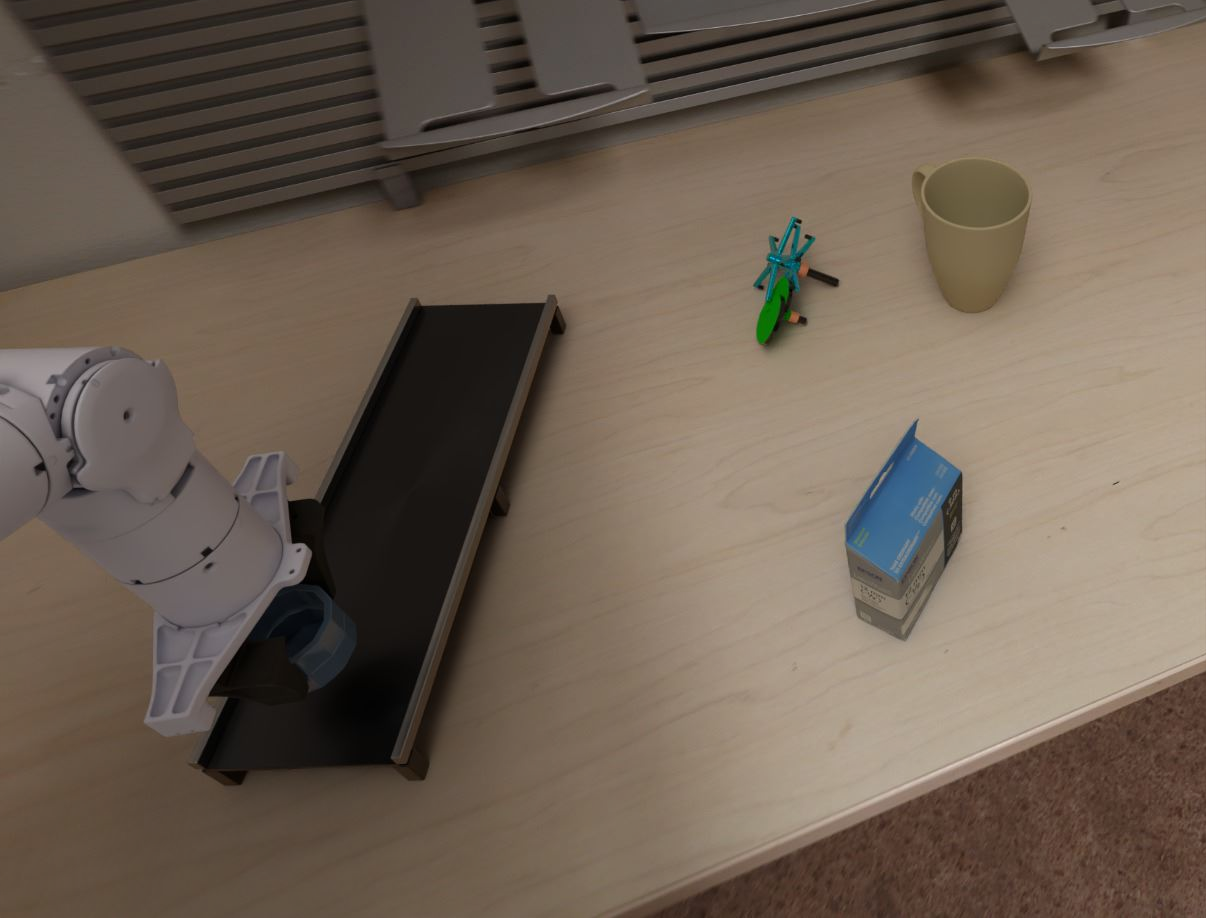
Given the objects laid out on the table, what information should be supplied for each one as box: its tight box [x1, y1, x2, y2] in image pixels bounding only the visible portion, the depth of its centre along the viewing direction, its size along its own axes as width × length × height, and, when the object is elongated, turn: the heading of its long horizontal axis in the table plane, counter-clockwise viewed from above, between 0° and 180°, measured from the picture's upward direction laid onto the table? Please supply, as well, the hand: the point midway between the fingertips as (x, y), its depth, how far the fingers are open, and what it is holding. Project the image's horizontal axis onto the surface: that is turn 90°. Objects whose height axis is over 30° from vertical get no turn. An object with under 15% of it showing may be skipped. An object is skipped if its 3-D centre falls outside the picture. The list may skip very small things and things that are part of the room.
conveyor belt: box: [186, 294, 567, 787], centre depth 68 cm, size 36×12×4 cm, turn 1°
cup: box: [247, 584, 357, 693], centre depth 54 cm, size 5×5×4 cm
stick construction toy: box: [752, 216, 840, 346], centre depth 82 cm, size 12×7×8 cm
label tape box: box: [844, 418, 964, 642], centre depth 61 cm, size 9×4×12 cm, turn 151°
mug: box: [911, 156, 1033, 314], centre depth 80 cm, size 11×10×12 cm
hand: (303, 646), depth 55 cm, fingers closed on cup, 5 cm apart
